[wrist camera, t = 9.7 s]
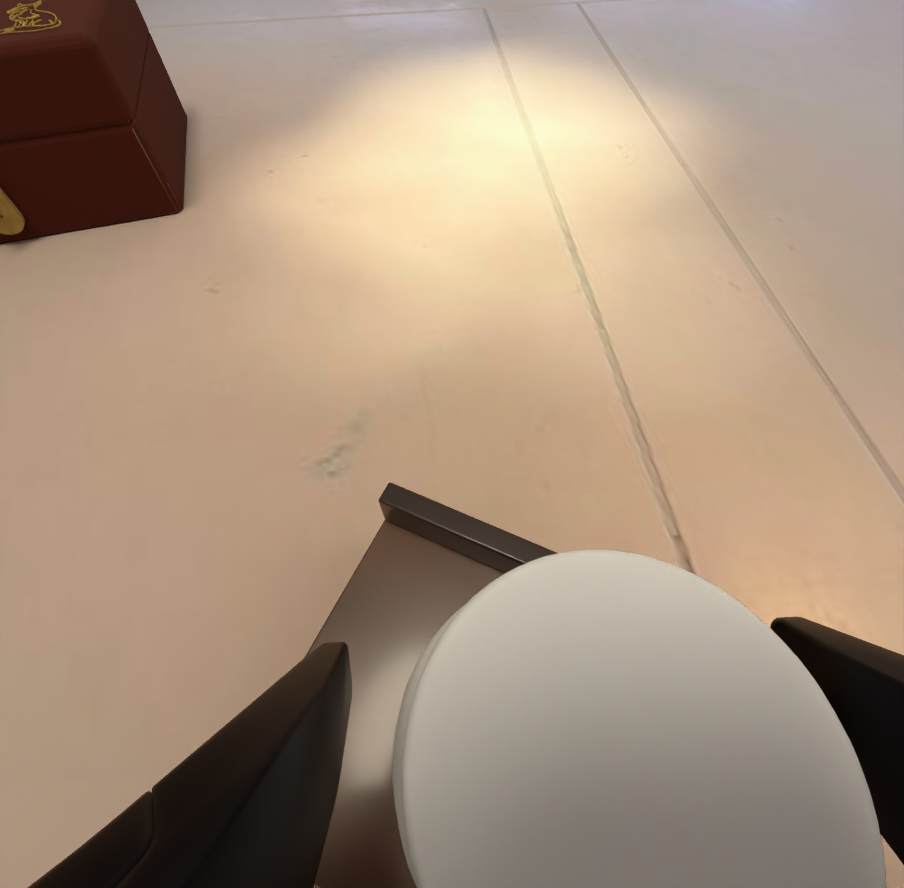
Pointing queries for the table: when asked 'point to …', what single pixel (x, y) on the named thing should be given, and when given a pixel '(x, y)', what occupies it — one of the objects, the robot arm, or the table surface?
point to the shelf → (397, 663)
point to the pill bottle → (623, 742)
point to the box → (84, 119)
